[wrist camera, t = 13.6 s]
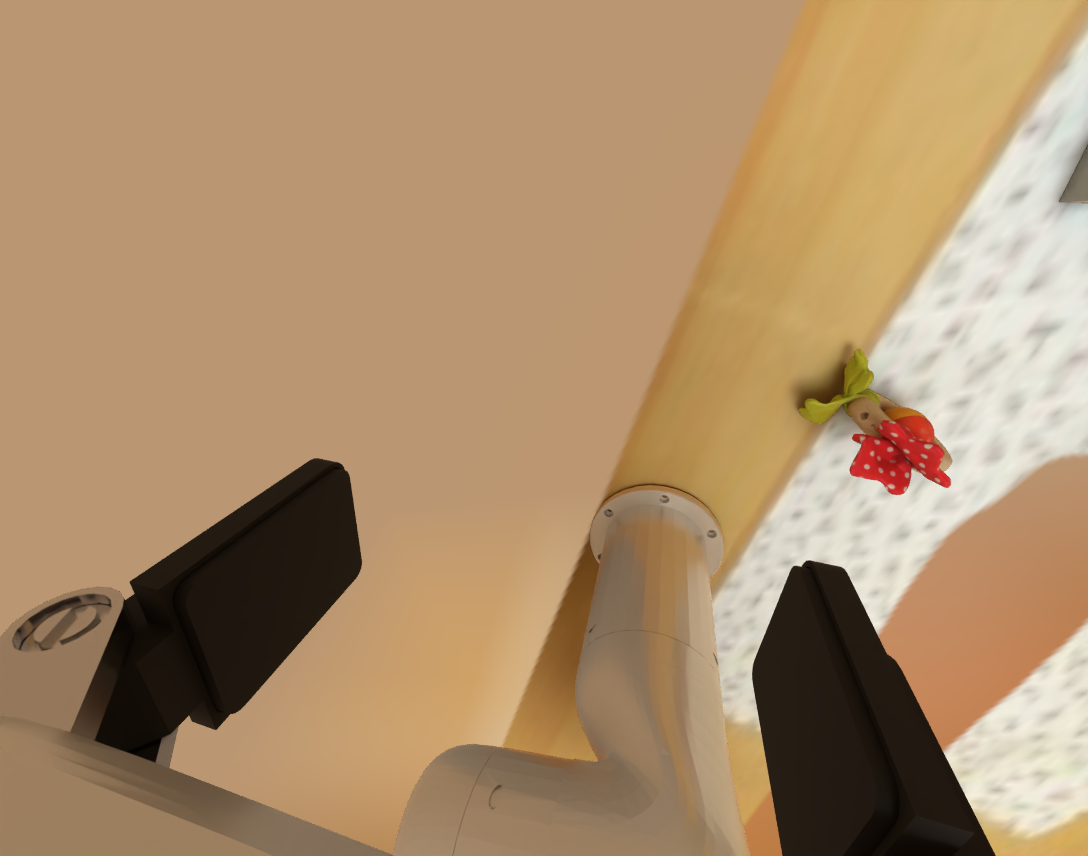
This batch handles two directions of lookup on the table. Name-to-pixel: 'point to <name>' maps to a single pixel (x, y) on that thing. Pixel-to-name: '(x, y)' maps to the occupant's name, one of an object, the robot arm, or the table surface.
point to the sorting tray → (1078, 183)
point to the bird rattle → (884, 433)
